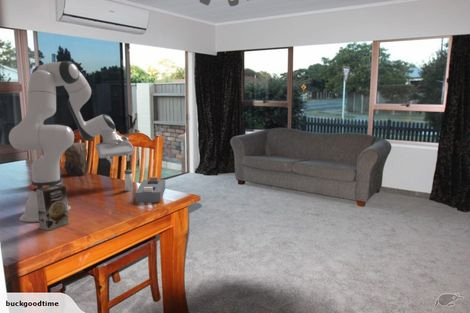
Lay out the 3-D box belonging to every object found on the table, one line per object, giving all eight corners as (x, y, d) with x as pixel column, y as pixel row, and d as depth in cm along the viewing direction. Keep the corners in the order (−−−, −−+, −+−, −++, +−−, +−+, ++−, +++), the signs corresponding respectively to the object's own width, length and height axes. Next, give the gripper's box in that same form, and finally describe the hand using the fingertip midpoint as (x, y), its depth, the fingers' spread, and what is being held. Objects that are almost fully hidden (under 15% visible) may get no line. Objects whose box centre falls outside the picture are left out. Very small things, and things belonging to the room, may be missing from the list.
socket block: (160, 202, 175) (160, 188, 173) (135, 202, 174) (135, 188, 172) (165, 188, 199) (165, 175, 198) (143, 188, 198) (143, 176, 197)
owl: (64, 175, 226) (61, 144, 222) (73, 171, 238) (70, 141, 235) (83, 175, 226) (81, 144, 222) (91, 171, 238) (89, 141, 234)
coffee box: (48, 231, 139) (44, 191, 136) (39, 227, 142) (35, 188, 139) (69, 223, 146) (66, 186, 143) (60, 220, 150) (57, 183, 147)
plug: (132, 191, 193) (131, 171, 191) (124, 191, 193) (123, 171, 191) (133, 188, 197) (132, 169, 195) (126, 189, 197) (125, 169, 195)
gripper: (95, 140, 196) (103, 160, 191) (130, 137, 209) (138, 156, 204) (93, 147, 200) (100, 167, 195) (127, 143, 213) (135, 162, 208)
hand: (120, 161), depth 199 cm, fingers open, 8 cm apart
